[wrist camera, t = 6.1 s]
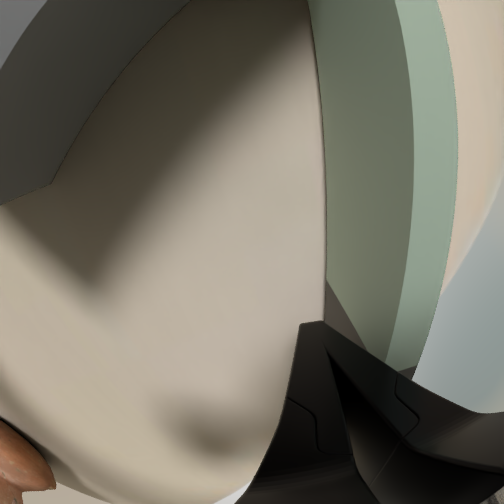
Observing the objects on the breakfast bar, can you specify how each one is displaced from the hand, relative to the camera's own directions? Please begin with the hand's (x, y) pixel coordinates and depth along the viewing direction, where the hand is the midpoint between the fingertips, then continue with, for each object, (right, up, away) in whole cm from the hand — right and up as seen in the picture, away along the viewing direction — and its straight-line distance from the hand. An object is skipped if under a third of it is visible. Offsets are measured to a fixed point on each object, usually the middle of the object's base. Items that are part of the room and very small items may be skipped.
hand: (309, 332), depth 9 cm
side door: (+1, +6, +1) cm, 6 cm away
